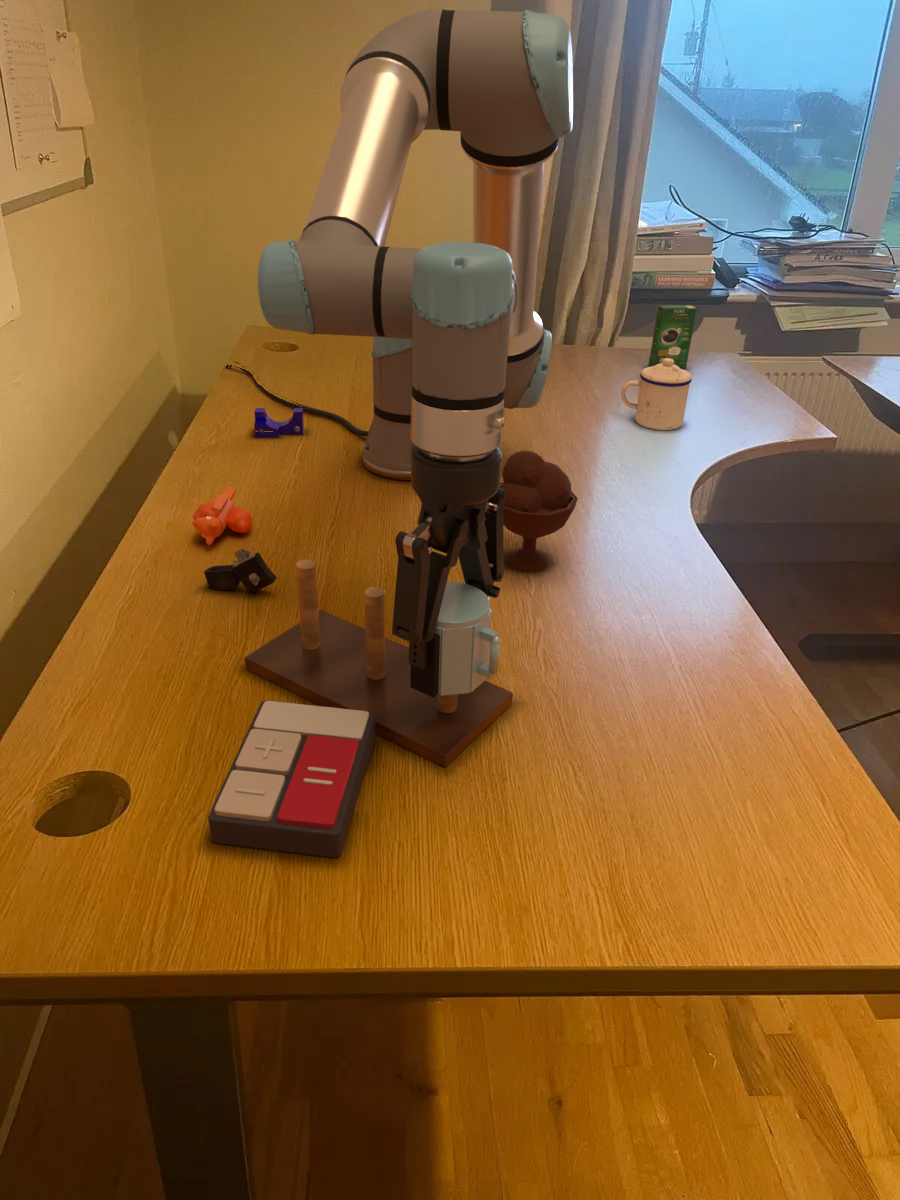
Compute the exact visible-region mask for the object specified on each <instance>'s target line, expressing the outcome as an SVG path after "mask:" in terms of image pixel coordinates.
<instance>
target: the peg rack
mask: <svg viewBox="0 0 900 1200" xmlns="http://www.w3.org/2000/svg"><path fill="white" fill-rule="evenodd" d="M295 569H296V570H295V571H296V586H297V598H298V599H297V600H298V612H299V613H298V615H299V623H297V624H295V625H294V626H292V627H291V628H289V629H287V630H286V631H284V632H282V633H281V634H279V635H278V636H276V637H274V638H273V639H272V640H269V641H268V642H267V643H265V644H263V645H262V646H260V647H259V648H257V649H256V650H254V651H252V652H251V653H250V654H248V655H246V656H245V657H244V667H245V669H246V670H247V671H250V672H252V673H253V674H256V675H258V676H260V677H262V678H264V679H266V680H268V681H270V682H272V683H274V684H275V685H277V686H280V687H282V688H283V689H285V690H287V691H290V692H291V693H293V694H295V695H298V696H300V697H301V698H304V699H306V700H307V701H309V702H312V703H314V704H316V705H317V706H324V707H333V708H343V709H352V710H361V711H370V712H373V713H374V715H375V735H378V736H380V737H382V738H383V739H386V740H388V741H390V742H391V743H394V744H396V745H398V746H400V747H402V748H404V749H406V750H408V751H410V752H412V753H414V754H416V755H418V756H421V757H422V758H424V759H427V760H429V761H431V762H432V763H435V764H437V765H438V766H440V767H442V768H447V767H448V766H449V765H450V764H451V763H452V762H453V761H454V760H455V759H456V758H457V757H459V755H460V754H462V752H463V751H464V750H465V749H466V748H468V747H469V746H470V745H471V744H472V743H473V742H474V741H475V740H476V739H477V738H478V737H479V736H480V735H481V734H483V732H484V731H485V730H486V729H487V728H489V726H491V725H492V723H494V722H495V721H496V720H497V719H498V718H499V717H500V716H501V715H502V714H503V713H504V712H505V711H506V710H507V709H508V708H509V707H511V706H512V705H513V698H514V697H513V696H514V692H513V691H511V690H508V689H506V688H504V687H501V686H499V685H497V684H494V683H493V682H490V681H487V680H485V681H484V682H483V683H482V684H480V685H479V686H478V687H477V688H476V689H475V690H474V691H472V692H470V693H465V694H454V695H442V696H440V694H439V695H437V696H435V697H434V698H433V697H431V696H428V695H426V694H424V693H422V692H420V691H417V690H415V689H413V688H411V687H410V668H409V646H406V645H403V644H401V643H399V642H397V641H394V640H392V639H390V638H388V637H386V591H385V589H383V588H382V587H380V586H370V587H367V588H365V590H364V591H363V593H364V594H363V595H364V596H363V597H364V598H363V599H364V600H363V601H364V627H363V626H362V627H361V626H359V625H357V624H354V623H353V622H351V621H347V620H345V619H343V618H341V617H339V616H336V615H334V614H332V613H329V612H327V611H324V610H322V609H319V600H318V599H319V598H318V596H319V595H318V579H317V563H316V561H315V560H311V559H301V560H299V561H297V562H296V563H295Z"/></svg>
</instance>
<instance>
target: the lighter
mask: <svg viewBox="0 0 900 1200" xmlns="http://www.w3.org/2000/svg"><path fill="white" fill-rule="evenodd" d="M233 554H234V556H235V557H236V559H237V560H233V561H232V564H226V565H225V564H223V565H213V566H209V567H208V568H206V569H205V570H204V571H203V574H204V576H205V580H206V583H207V586H208V588H209V589H212V590H215V591H228V590H233V589H235V588H238V586H239V585H240V583H241V584H242V586H244V588H245V589H246V590H247V591H248V593H249V594H250V595H252V594H253V593H255V592H257V591H258V592H259V591H260V590H261V589H264V588H265V587H268V586H270V585H272V584H274V583H275V581H276V580H277V578H278V577H277V576H276V574H275V573H274V572H273V571H272V570H271V569H270V568H269V566H268V565H267V564H266V562H265V560H264V559H263V557H262V556H261V554H260V553H259V552H257V551H255V552H253V553H251V551H250V549H247V548H245V549H244V548H241V549H238V550H237V551H236V552H234V553H233Z"/></svg>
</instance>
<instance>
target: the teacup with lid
mask: <svg viewBox="0 0 900 1200" xmlns="http://www.w3.org/2000/svg"><path fill="white" fill-rule="evenodd" d="M639 377H640V380H630V381H627V382H626V383H624V384H623V386H622V388H621V391H620V395H621V400H622V402H623V403H624V405H625V406H627V407H628V408H630V409H635V416H634V417H635V422H636V423H637V424H638V425H640V426H641V427H645V428H647V429H651V430H656V431H657V430H658V431H671V430H676V429H679V428H680V427H682V426H683V424H684V419H685V413H686V407H687V401H688V396H689V391H690V390H689V389H690V386H691V385H690V384H691V382H692V380H693V379H692V375H691V373H690V372H689V371H687V370H685V369H684V368H679V367H678V366H676V365H674V360H673V359H670V358H665V359H663V361H662V363H660V364H657V365H655V366H651V367H649V366H647V367H645V368H643V369H642V370H641V371H640V374H639ZM632 386H637V387H639V390H638V394H637V395H638V396H637V403H632V402H630V401H629V400H628V399H627V397H626V391H627V389H628V388H630V387H632Z"/></svg>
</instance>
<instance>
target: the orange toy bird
mask: <svg viewBox="0 0 900 1200" xmlns="http://www.w3.org/2000/svg"><path fill="white" fill-rule="evenodd" d="M236 491H237V489H236V488H234V487H231V486H227V488H226V489H225V491H224V493H223V492H221V493H220V494H219V495H218V496H215V497H214V498H212V500H211V501H210V502H207V503H202V504H200V505H198V508H196V510H195V512H194V513H193V514H192V518H193V522H192V525H193V527H194V529H196V530H197V531H198V532H199V534H201V537H202V538H203V539H204V540H205V543H206V544H207V545H208V546H211V545H212V544H213V543H214V541H215V539H216V538H218V537H220V536H221V535H223V532H224V531H225V529H226V528H227V527H228V528H229V529H230V530H231V531H233V532H235V533H239V534H246V533H248V532H249V531H250V530H251V529H252V527H253V518H252V515H251V514H250V512H248V510H246V509H245V508H243V507H240V506H235V503H234V502H233V498H234V497H235V495H236Z"/></svg>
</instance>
